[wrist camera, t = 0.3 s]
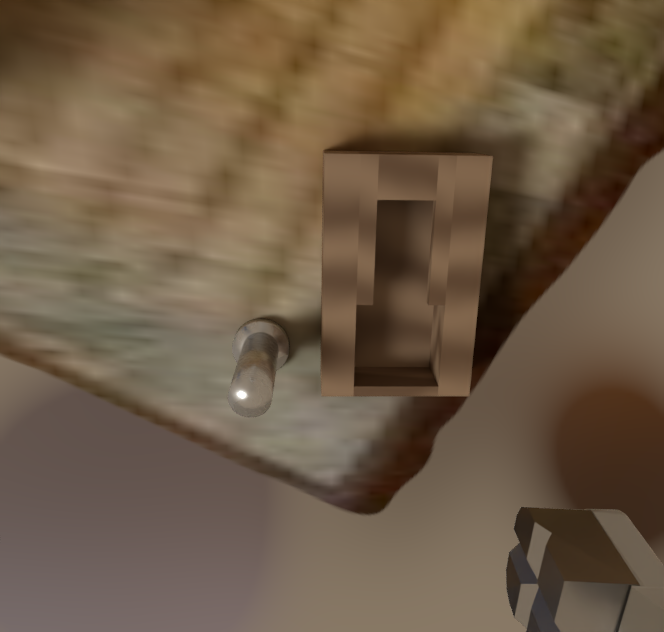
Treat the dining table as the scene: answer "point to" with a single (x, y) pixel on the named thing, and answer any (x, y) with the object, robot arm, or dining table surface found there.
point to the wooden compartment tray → (401, 271)
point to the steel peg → (256, 365)
